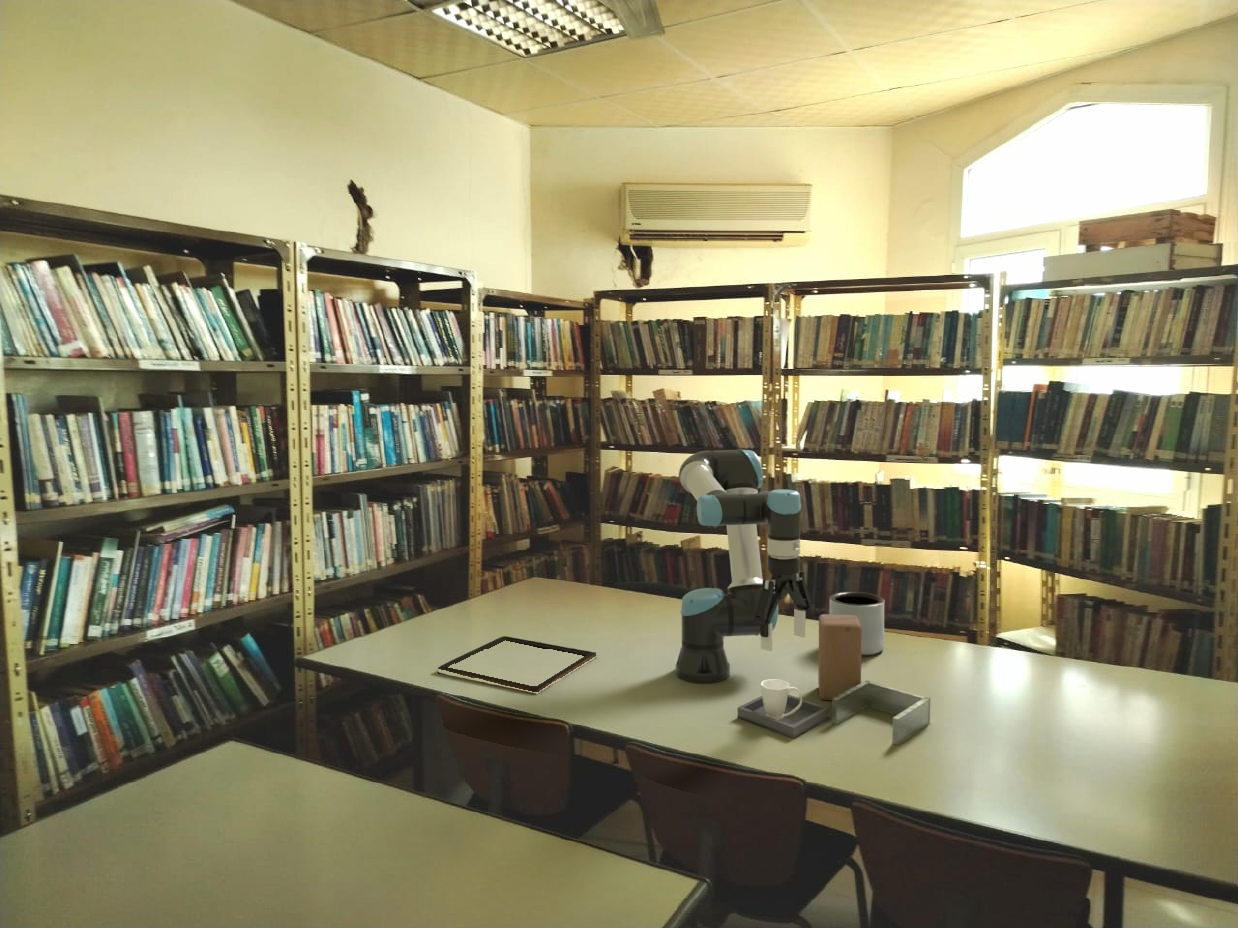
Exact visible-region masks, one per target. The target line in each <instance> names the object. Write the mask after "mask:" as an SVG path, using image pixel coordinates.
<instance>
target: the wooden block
mask: <svg viewBox="0 0 1238 928" xmlns="http://www.w3.org/2000/svg"><path fill="white" fill-rule="evenodd" d="M861 647H862V628H861V625H860V622H859V619H858V617H857V616H855V615H832V614H830V613H828V614H826V613H823V614H820V615H819V616H818V675H817V676H818V680H817V681H818V682H817V683H818V684H817V685H818V691H819V696H820V699H821V700H823V701H832V699H833V698H834V697H836V696H838V695H840V694H842V693H844V692H846V691H847V690H849V689H851V688H853V687H855V686H857V685H859V684H860V683H862V656H861Z"/></svg>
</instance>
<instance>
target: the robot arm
mask: <svg viewBox="0 0 1238 928" xmlns="http://www.w3.org/2000/svg"><path fill="white" fill-rule="evenodd" d="M678 480H679V482H680V484H681V486H682V487H683V489H685V491H686V492H688V493H690V494H692V496H693V497H694V499H695V500H696V501H697V503H696V518H697V521H698V524H700V525H701V526H705V527H706V526H711V527H717V526H718V527H721V526H726V534H727V544H728V555H729V563H730V564H729V565H730V573H731V583H730V584H729V586H727V593H724V591H723V590H722V589H720V588H717V587H713V588H712V587H704V588H697V589H694V590H691V591H689V592H687V593H686V594H685V595H683V597H682V599H681V605H680V606H681V607H680V608H681V610H680V614H681V647H680V650H679V654H678V657H677V661H676V664H675V675H676V676H677V677H678V678H679V679H681V680H683V681H687V682H691V683H697V684H698V683H699V684H710V683H711V684H712V683H718V682H722V681H725V680H726V679H728V678H729V677H730V676H731V665H730V663H729V662H730V661H728V658H727V654H726V650H725V647H724V643H725V641H724V637H741V636H742V637H744V636H757V637H758V636H760V649H761V650H764V651H768V652H773V631H774V630H775V628H776V625H777V623H778V619H779V617H778V616H779V603H780V600H782V599H783V598H784V596H786V595H789V597H790V599H791V601H792V602H793V604H794V606H795V607H796V608H794V609H793V610H794V611H793V612H794V613H793V618H794V619H793V625H794V626H793V635H794V636H796V637H800V638H806V621H807V620H806V619H807V618H806V617H807V613H806V611H810V610H811V606H812V599H811V595H810V592H809V589H808V586H807V583H806V579H805V572H804V571H802V570H801V557H800V556H799V555H801V510H802V504H801V493H799V492H798V491H797V490H794V489H773V490H770V491H769V490H765V491H760V492H759V489H760V488H761V487H762V486H763V482H764V479H763V468H762V463H761V460H760V458H759V456H758V454H757V453H756V452H755V451H753V450H749V449H740V448H739V449H738V448H737V449H731V450H730V449H729V450H725V449H724V450H723V449H722V450H701V451H698V452H696V453H694V454H692V455H690V456H689V457H687V458H686V459H685V460H684V461H683V462H682V464H681V465H680V467H679V470H678ZM757 525H767V554H768V555H769V556H768V557H767V571H768V572H770V574H771V578H770V580H769V579H763V571H762V562H761V552H760V547H759V537H758V536H759V535H758V528H757Z"/></svg>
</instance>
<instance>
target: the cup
mask: <svg viewBox="0 0 1238 928" xmlns="http://www.w3.org/2000/svg"><path fill="white" fill-rule="evenodd" d="M760 689H761V690H760V691H761V696H762V698H763V704H764V708H765V712H766V713H767V714H766V716H769V717H771V718H774V719H777V720H780V719H783V717H787V716H789V715H791V714H792V713H794V712H795V711H796V710H798V709H799V708H800V706H801V704H802V699H803V698H802V697H803V696H802V692H801V691H800V690H799V689H798V688H797V687H795V686H790V683H789V682H787V681H785V680H784V679H778V678H769V679H764V680H762V681H761V683H760ZM794 690H795V691H797V693H798V694H799V698H800V703H799V705H798V706H797V707H796V708H795V709H793V710H792V711H791V712H789V713H787V714H784V711H785V707H786V703H787V697H788V695H789V692H790V691H794Z"/></svg>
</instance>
